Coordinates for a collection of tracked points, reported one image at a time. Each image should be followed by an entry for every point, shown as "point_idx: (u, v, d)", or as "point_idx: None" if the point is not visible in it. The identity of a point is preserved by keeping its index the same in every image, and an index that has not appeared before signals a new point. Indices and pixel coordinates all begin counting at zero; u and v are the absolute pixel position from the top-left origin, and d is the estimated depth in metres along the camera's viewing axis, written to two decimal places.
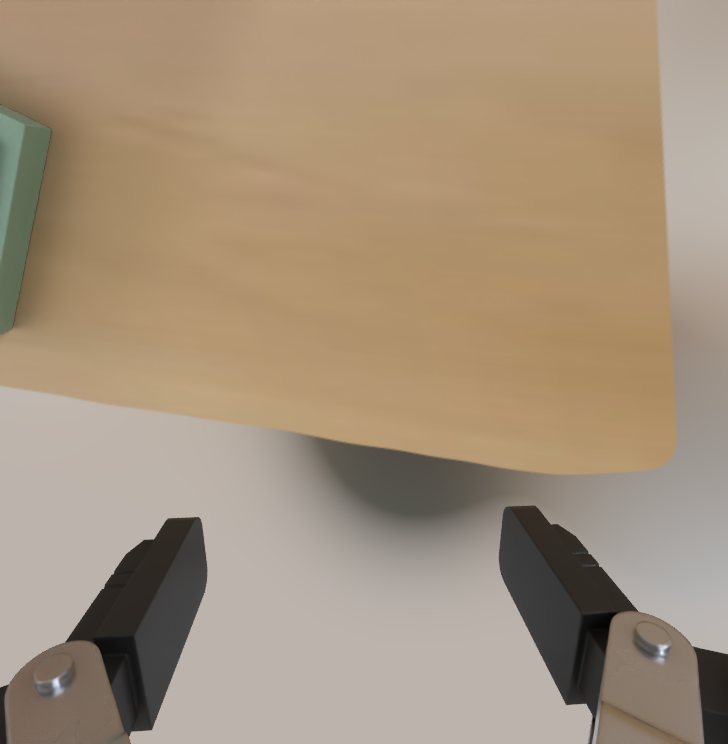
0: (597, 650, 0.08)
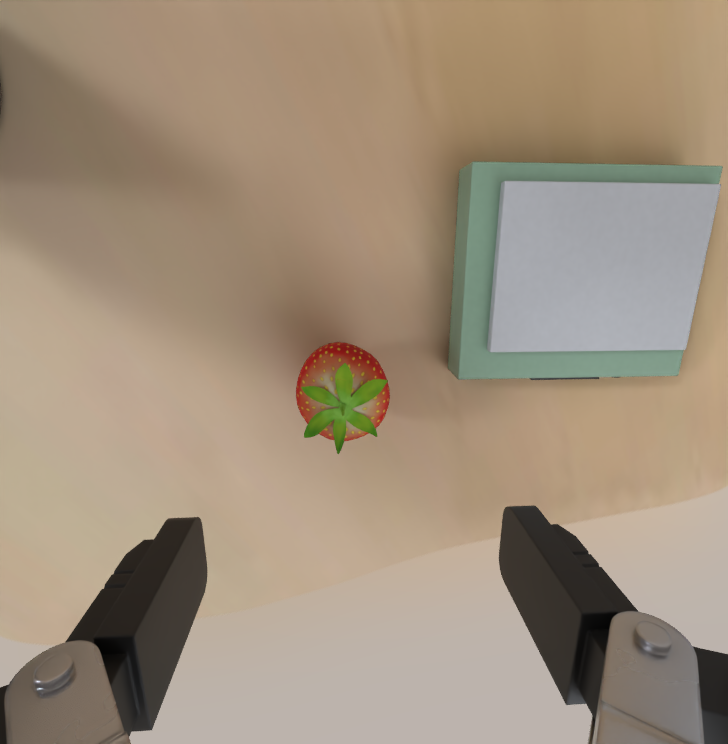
0: (597, 650, 0.08)
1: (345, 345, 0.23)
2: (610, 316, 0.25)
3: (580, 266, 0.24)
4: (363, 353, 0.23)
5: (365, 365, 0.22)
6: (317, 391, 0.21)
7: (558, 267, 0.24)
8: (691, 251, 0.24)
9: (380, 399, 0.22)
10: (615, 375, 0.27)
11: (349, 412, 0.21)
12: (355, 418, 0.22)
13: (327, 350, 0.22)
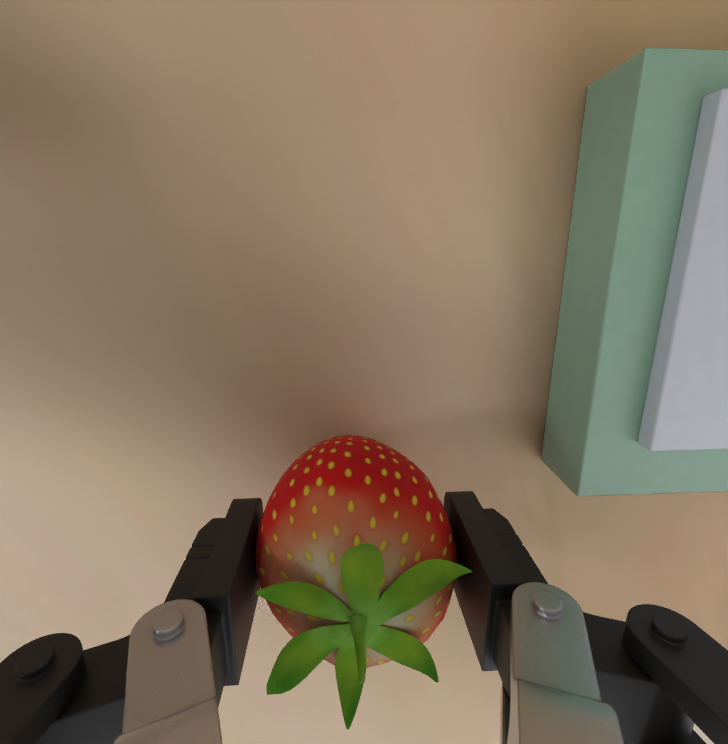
0: (503, 618, 0.08)
1: (362, 457, 0.10)
2: None
3: None
4: (402, 475, 0.10)
5: (409, 511, 0.10)
6: (297, 591, 0.09)
7: None
8: None
9: (443, 588, 0.10)
10: None
11: (373, 632, 0.09)
12: (388, 639, 0.09)
13: (321, 476, 0.10)
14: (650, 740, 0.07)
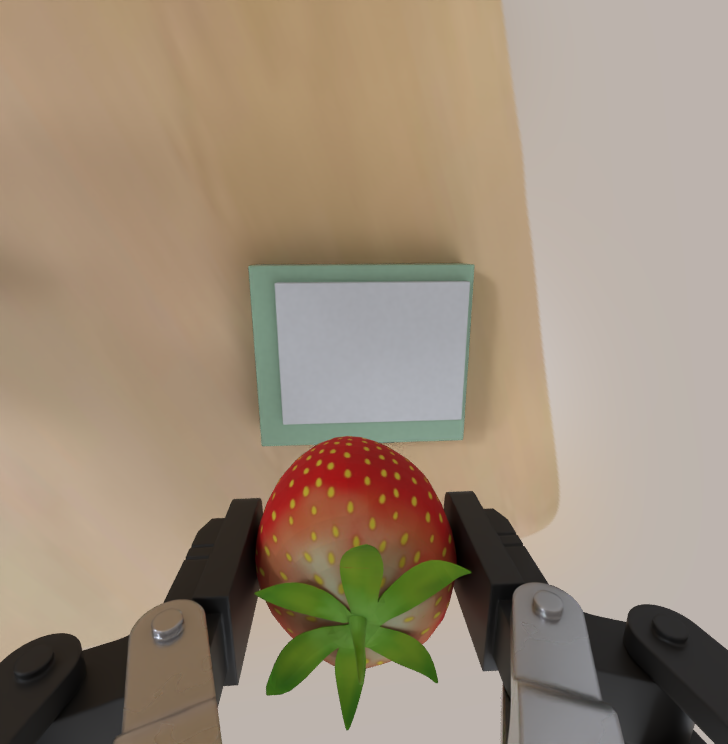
0: (504, 618, 0.08)
1: (361, 458, 0.10)
2: (387, 392, 0.28)
3: (353, 352, 0.27)
4: (401, 476, 0.10)
5: (409, 512, 0.10)
6: (296, 592, 0.09)
7: (333, 353, 0.27)
8: (452, 337, 0.27)
9: (443, 589, 0.10)
10: (405, 440, 0.30)
11: (372, 632, 0.09)
12: (387, 641, 0.09)
13: (320, 477, 0.10)
14: (650, 740, 0.07)
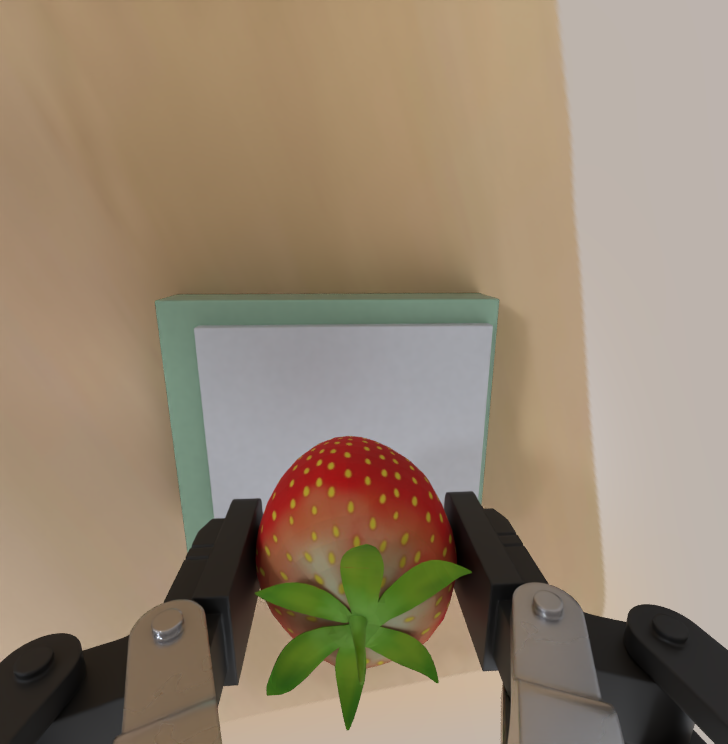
0: (504, 618, 0.08)
1: (362, 457, 0.10)
2: None
3: (317, 427, 0.18)
4: (402, 476, 0.10)
5: (409, 512, 0.10)
6: (297, 592, 0.09)
7: (287, 429, 0.18)
8: (465, 406, 0.18)
9: (443, 589, 0.10)
10: None
11: (373, 633, 0.09)
12: (388, 641, 0.09)
13: (321, 476, 0.10)
14: (650, 740, 0.07)
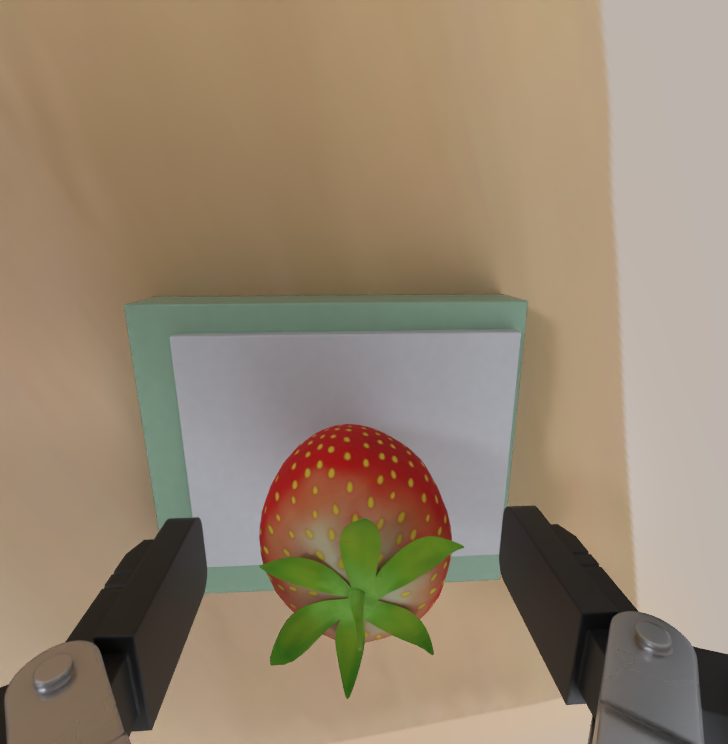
0: (598, 650, 0.08)
1: (361, 442, 0.11)
2: None
3: None
4: (399, 459, 0.11)
5: (406, 492, 0.10)
6: (299, 566, 0.09)
7: (281, 454, 0.16)
8: (487, 425, 0.16)
9: (438, 566, 0.10)
10: None
11: (371, 606, 0.10)
12: (385, 614, 0.10)
13: (321, 459, 0.10)
14: None
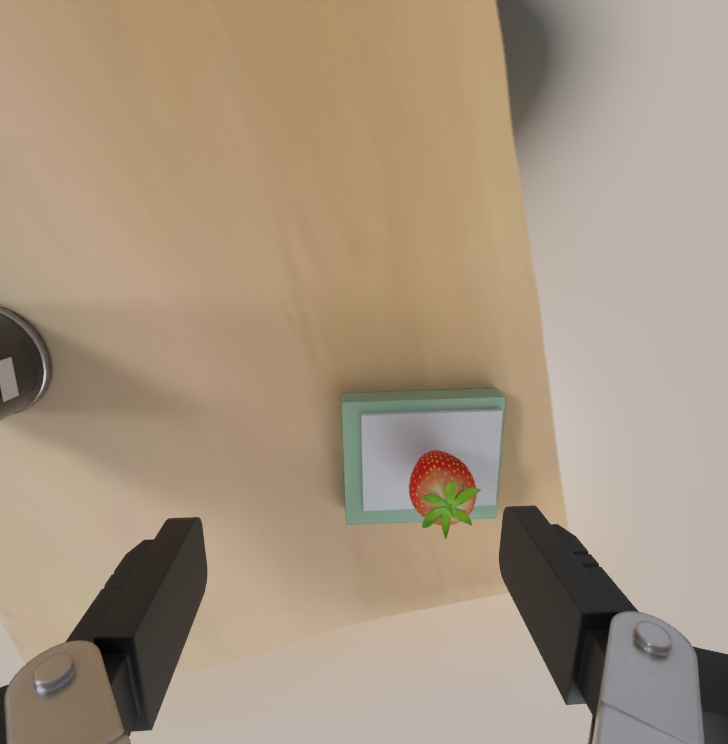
0: (598, 650, 0.08)
1: (445, 458, 0.32)
2: None
3: (416, 460, 0.37)
4: (458, 464, 0.32)
5: (462, 475, 0.31)
6: (432, 497, 0.31)
7: (402, 461, 0.37)
8: (489, 448, 0.37)
9: (472, 498, 0.32)
10: None
11: (452, 509, 0.31)
12: (456, 513, 0.31)
13: (434, 464, 0.32)
14: None
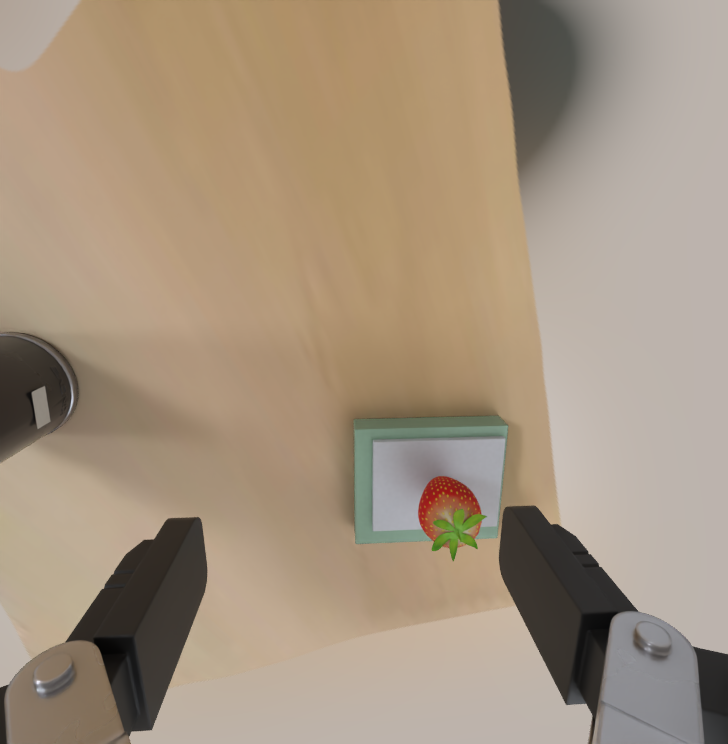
0: (598, 650, 0.08)
1: (453, 485, 0.35)
2: None
3: (424, 484, 0.39)
4: (465, 491, 0.34)
5: (469, 501, 0.34)
6: (441, 522, 0.33)
7: (410, 485, 0.39)
8: (492, 473, 0.40)
9: (478, 523, 0.34)
10: None
11: (460, 534, 0.33)
12: (463, 537, 0.34)
13: (443, 491, 0.34)
14: None
